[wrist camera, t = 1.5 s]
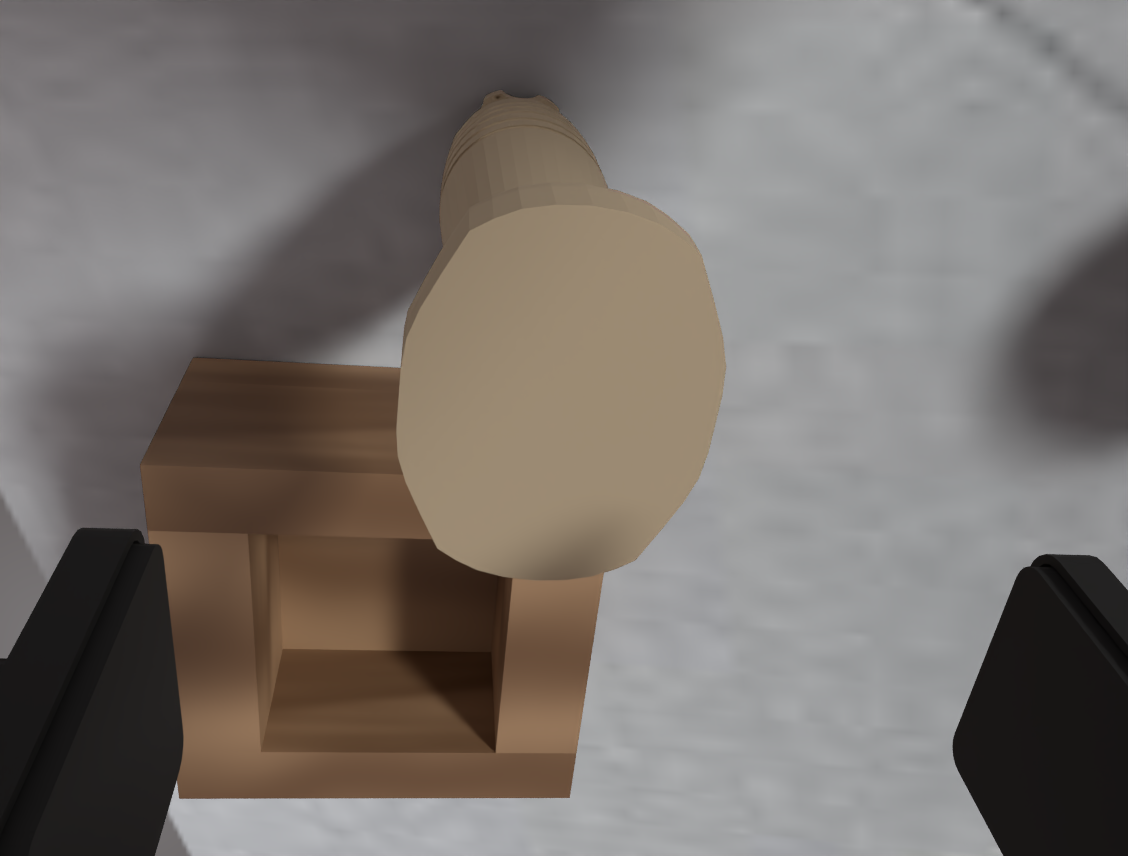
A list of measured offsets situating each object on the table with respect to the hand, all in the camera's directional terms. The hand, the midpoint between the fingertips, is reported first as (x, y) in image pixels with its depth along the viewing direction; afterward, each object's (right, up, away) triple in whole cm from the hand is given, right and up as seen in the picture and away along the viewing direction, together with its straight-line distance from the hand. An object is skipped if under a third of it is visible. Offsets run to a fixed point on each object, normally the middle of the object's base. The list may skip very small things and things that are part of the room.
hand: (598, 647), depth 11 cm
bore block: (-6, -1, +23) cm, 24 cm away
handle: (-2, +10, +17) cm, 20 cm away
